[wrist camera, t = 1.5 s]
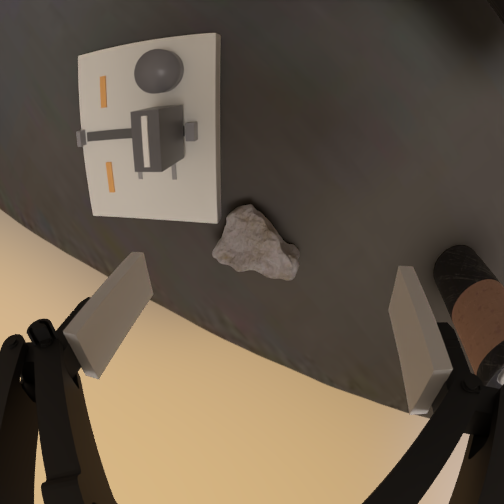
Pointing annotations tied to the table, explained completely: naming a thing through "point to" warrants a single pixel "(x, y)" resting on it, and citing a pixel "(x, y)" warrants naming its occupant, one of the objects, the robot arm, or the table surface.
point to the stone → (255, 245)
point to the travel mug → (474, 310)
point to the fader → (157, 137)
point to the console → (146, 96)
